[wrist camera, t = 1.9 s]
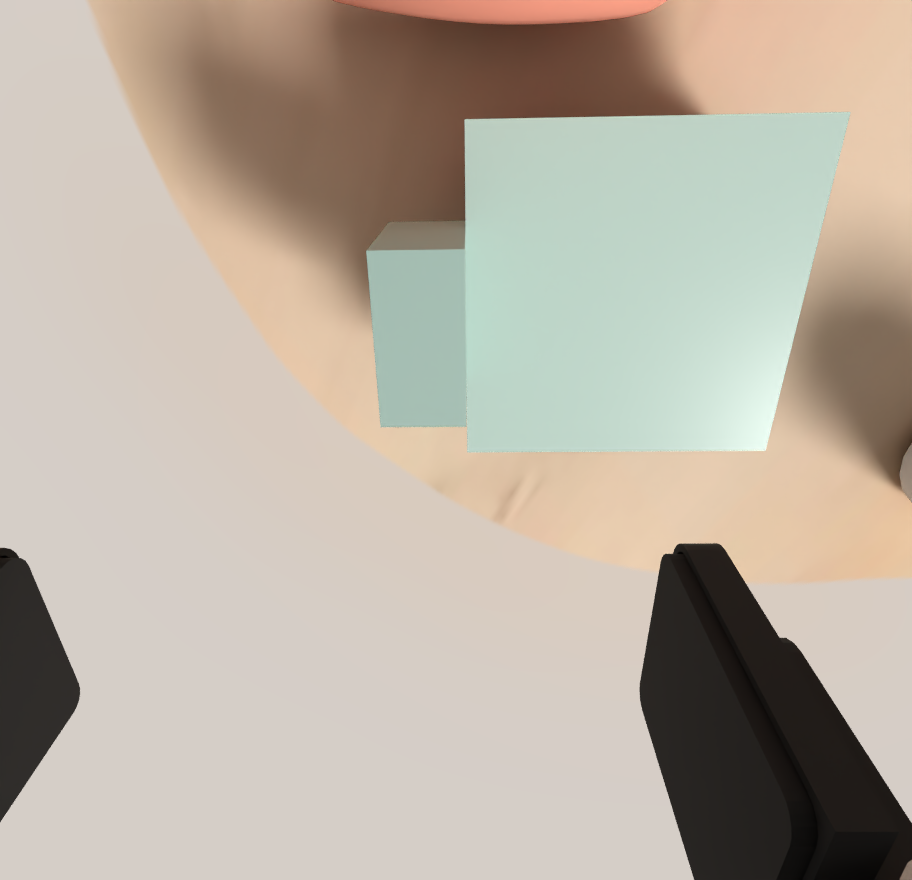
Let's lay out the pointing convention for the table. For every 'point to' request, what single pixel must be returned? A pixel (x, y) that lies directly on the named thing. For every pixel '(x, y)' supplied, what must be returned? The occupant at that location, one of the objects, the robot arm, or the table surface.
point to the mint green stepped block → (607, 283)
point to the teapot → (512, 10)
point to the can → (907, 473)
